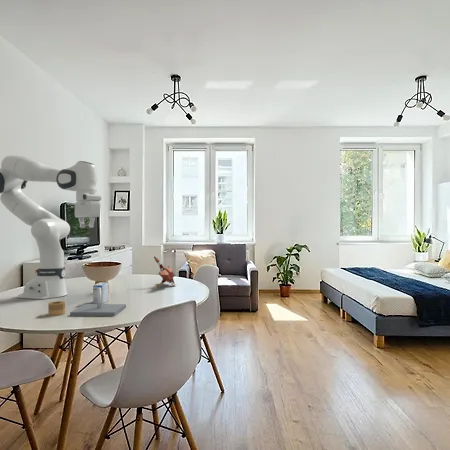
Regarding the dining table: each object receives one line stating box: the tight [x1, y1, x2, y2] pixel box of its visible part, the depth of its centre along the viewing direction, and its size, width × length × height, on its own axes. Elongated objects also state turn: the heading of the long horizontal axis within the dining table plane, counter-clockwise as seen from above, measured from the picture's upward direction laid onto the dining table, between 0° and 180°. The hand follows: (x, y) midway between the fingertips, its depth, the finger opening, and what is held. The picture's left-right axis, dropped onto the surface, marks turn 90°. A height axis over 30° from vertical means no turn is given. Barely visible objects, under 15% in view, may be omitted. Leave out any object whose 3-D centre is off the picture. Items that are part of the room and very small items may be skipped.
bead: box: [47, 300, 66, 317], centre depth 146 cm, size 6×6×4 cm
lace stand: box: [69, 288, 127, 317], centre depth 150 cm, size 18×14×10 cm
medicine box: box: [92, 282, 109, 304], centre depth 167 cm, size 8×4×9 cm, turn 178°
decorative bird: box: [153, 255, 176, 287], centre depth 208 cm, size 28×18×15 cm, turn 178°
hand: (86, 227), depth 164 cm, fingers open, 8 cm apart
